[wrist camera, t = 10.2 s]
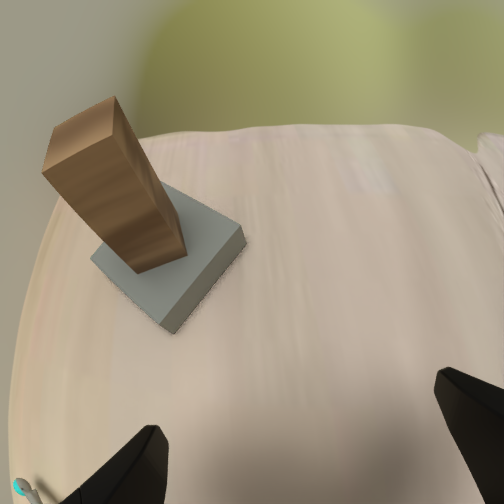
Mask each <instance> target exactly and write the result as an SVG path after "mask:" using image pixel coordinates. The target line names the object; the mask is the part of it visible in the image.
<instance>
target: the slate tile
mask: <svg viewBox="0 0 504 504" xmlns="http://www.w3.org/2000/svg"><path fill="white" fill-rule="evenodd" d="M160 182H161V181H160ZM161 184H162V186H163V188H164V189H165V191H166V193H167V195H168V197H169V198H170V200H171V202H172V204H173V206H174V207H175V209H176V211H177V213H178V217H179V221H180V225H181V229H182V234H183V238H184V242H185V246H186V250H187V254H188V256H185V257H183V258H180V259H177V260H174V261H172V262H169V263H166V264H164V265H161V266H159V267H156V268H153V269H151V270H148V271H145V272H143V273H140V274H136V273H135V272H134V271H133V270H132V269H131V268H130V267H129V266H128V265H127V264H126V263H125V262H124V261H123V260H122V259H121V258H120V257H119V256H118V255H117V254H116V253H115V252H114V251H113V250H112V249H111V248H110V247H109V246H108V245H107V244H106V243H105V242H103V243H102V244H101V246H100V247H99V248H98V249H97V250H96V252H95V253H94V254H93V255H92V256H91V258H90V259H91V260H92V261H93V262H94V263H95V264H96V265H97V266H98V268H99V269H100V270H101V271H102V272H103V273H104V274H105V275H106V276H107V277H108V278H109V279H110V280H111V281H112V282H113V283H114V284H115V285H117V286H118V287H119V288H120V289H121V290H122V291H123V292H124V293H125V294H126V295H127V296H128V297H129V298H130V299H131V300H132V301H133V302H134V303H135V304H137V305H138V306H139V307H140V308H141V309H142V310H143V311H144V312H145V313H146V314H147V315H149V316H150V317H151V318H152V319H153V320H154V321H155V322H156V323H158V324H159V325H160V326H162V327H163V328H165V329H166V330H168V331H169V332H171V333H172V334H174V333H175V332H176V331H177V330H178V328H179V327H180V326H181V325H182V323H183V322H184V321H185V320H186V318H187V317H188V316H189V315H190V313H191V312H192V311H193V310H194V308H195V307H196V306H197V305H198V303H199V302H200V301H201V300H202V298H203V297H204V296H205V295H206V293H207V292H208V291H209V290H210V288H211V287H212V286H213V285H214V283H215V282H216V281H217V280H218V278H219V277H220V276H221V275H222V273H223V272H224V271H225V270H226V269H227V267H228V266H229V265H230V264H231V262H232V261H233V260H234V259H235V257H236V256H237V255H238V254H239V252H240V251H241V250H242V249H243V247H244V246H245V245H246V244H247V243H246V240H245V237H244V234H243V230H242V227H241V225H240V224H238V223H237V222H235V221H233V220H231V219H229V218H228V217H226V216H224V215H222V214H220V213H218V212H217V211H215V210H213V209H211V208H209V207H208V206H206V205H204V204H202V203H200V202H198V201H197V200H195V199H193V198H191V197H189V196H187V195H186V194H184V193H182V192H180V191H178V190H176V189H174V188H173V187H171V186H169V185H167V184H165V183H163V182H161Z"/></svg>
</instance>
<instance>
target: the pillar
mask: <svg viewBox="0 0 504 504" xmlns="http://www.w3.org/2000/svg"><path fill="white" fill-rule="evenodd" d="M42 174H43V175H44V177H45V178H46V179H47V180H48V181H49V182H50V184H51V185H52V186H53V187H54V188H55V189H56V191H57V192H58V193H59V194H60V195H61V196H62V197H63V198H64V200H65V201H66V202H67V203H68V204H69V205H70V206H71V207H72V208H73V210H74V211H75V212H76V213H77V214H78V215H79V216H80V217H81V218H82V219H83V220H84V221H85V222H86V223H87V225H88V226H89V227H90V228H91V229H92V230H93V231H94V232H95V233H96V234H97V235H98V236H99V237H100V238H101V239H102V240H103V241H104V242H105V243H106V244H107V245H108V246H109V247H110V248H111V249H112V250H113V251H114V252H115V253H116V254H117V255H118V256H119V257H120V258H121V259H122V260H123V261H124V262H125V263H126V264H127V265H128V266H129V267H130V268H131V269H132V270H133V271H134V272H135V273H136V274H140V273H143V272H145V271H148V270H151V269H153V268H156V267H159V266H161V265H164V264H166V263H169V262H172V261H174V260H177V259H180V258H183V257H185V256H188V254H187V250H186V246H185V242H184V238H183V234H182V229H181V225H180V221H179V217H178V213H177V211H176V209H175V207H174V206H173V204H172V202H171V200H170V198H169V197H168V195H167V193H166V191H165V189H164V188H163V186H162V184H161V182H160V180H159V179H158V177H157V175H156V173H155V171H154V169H153V168H152V166H151V164H150V162H149V160H148V158H147V156H146V155H145V153H144V151H143V149H142V147H141V145H140V143H139V141H138V140H137V138H136V136H135V134H134V132H133V130H132V129H131V126H130V124H129V122H128V120H127V118H126V117H125V115H124V113H123V111H122V109H121V107H120V105H119V103H118V101H117V99H116V97H115V96H113V97H110V98H108V99H106V100H104V101H102V102H100V103H98V104H96V105H94V106H93V107H90V108H89V109H87V110H85V111H83V112H81V113H79V114H77V115H75V116H74V117H72V118H70V119H68V120H66V121H65V122H63V123H61V124H60V125H58V126H56V127H55V128H54V130H53V133H52V136H51V139H50V143H49V146H48V150H47V153H46V157H45V161H44V165H43V169H42Z"/></svg>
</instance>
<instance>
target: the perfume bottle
mask: <svg viewBox="0 0 504 504" xmlns="http://www.w3.org/2000/svg"><path fill="white" fill-rule="evenodd" d="M13 486H14V489H15V491H16V492H17V493H18V494H20V495H22V496H26V497H27V499H28V500H29V502H30V503H31V504H43V503H42V501H41V499H40V497H39V495H38V492H37V490H36V489H34V490H32V489H31V486H30V484H29V483H28V482H27V481H26V480H25V479H22V478H16V480H15V481H14V483H13ZM46 504H51V503H46Z"/></svg>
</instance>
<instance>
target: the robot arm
mask: <svg viewBox="0 0 504 504" xmlns="http://www.w3.org/2000/svg"><path fill="white" fill-rule="evenodd" d="M434 394H435V397H436V399H437V401H438V404H439V406H440V409H441V411H442V414H443V416H444V419H445V421H446V424H447V426H448V429H449V431H450V433H451V435H452V437H453V438H454V440H455V442H456V444H457V446H458V448H459V450H460V452H461V454H462V456H463V458H464V460H465V462H466V464H467V466H468V468H469V470H470V472H471V474H472V476H473V478H474V480H475V482H476V484H477V487H478V489H479V491H480V493H481V495H482V497H483V500H484V502H485V504H504V389H502V388H499V387H497V386H494V385H492V384H490V383H487V382H485V381H482V380H480V379H478V378H475V377H473V376H470V375H468V374H466V373H463V372H461V371H459V370H456V369H454V368H451V367H446V368H443V369H441V370H439V371H438V372H437V376H436V381H435V386H434ZM168 452H169V444H168V440H167V439H166V437H165V435H164V434H163V432H162V430H161V429H160V427H159V426H158V425H146V426H144V427H143V428H142V429H141V430H140V431H139V432H138V433H137V434H136V435H135V436H134V437H133V438H132V439H131V440H130V441H129V442H128V443H127V444H126V445H125V446H123V447H122V448H121V449H120V450H119V451H118V452H117V453H116V454H115V455H114V456H113V457H112V458H111V459H110V460H108V461H107V462H106V463H105V464H104V465H103V466H102V467H101V468H100V469H99V470H98V471H96V472H95V473H94V474H93V475H92V476H91V477H90V478H89V479H88V480H86V481H85V482H84V483H83V484H82V485H81V486H80V488H77V489H76V490H75V491H74V492H73V493H72V494H70V495H69V496H68V497H67V498H66V499H64V500H63V501H62V502H60V503H59V504H164V500H165V494H166V487H167V475H168Z"/></svg>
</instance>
